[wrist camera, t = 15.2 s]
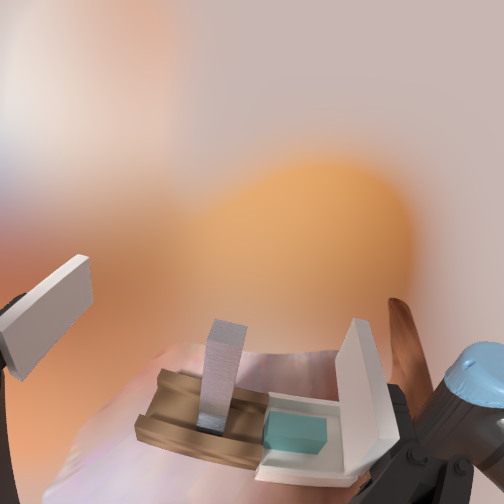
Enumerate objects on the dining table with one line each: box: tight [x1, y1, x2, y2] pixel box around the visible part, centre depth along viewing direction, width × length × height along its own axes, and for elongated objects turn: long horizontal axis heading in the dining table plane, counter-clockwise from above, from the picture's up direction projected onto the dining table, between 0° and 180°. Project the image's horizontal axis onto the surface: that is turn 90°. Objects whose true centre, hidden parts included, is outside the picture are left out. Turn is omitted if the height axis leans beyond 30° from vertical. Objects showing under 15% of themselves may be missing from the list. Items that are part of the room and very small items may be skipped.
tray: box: [254, 391, 358, 487], centre depth 37 cm, size 13×14×3 cm
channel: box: [134, 369, 269, 471], centre depth 37 cm, size 16×11×4 cm
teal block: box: [262, 411, 299, 452], centre depth 37 cm, size 4×4×4 cm
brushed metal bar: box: [195, 319, 247, 437], centre depth 34 cm, size 4×6×17 cm, turn 173°
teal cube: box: [290, 415, 327, 455], centre depth 37 cm, size 4×4×4 cm
